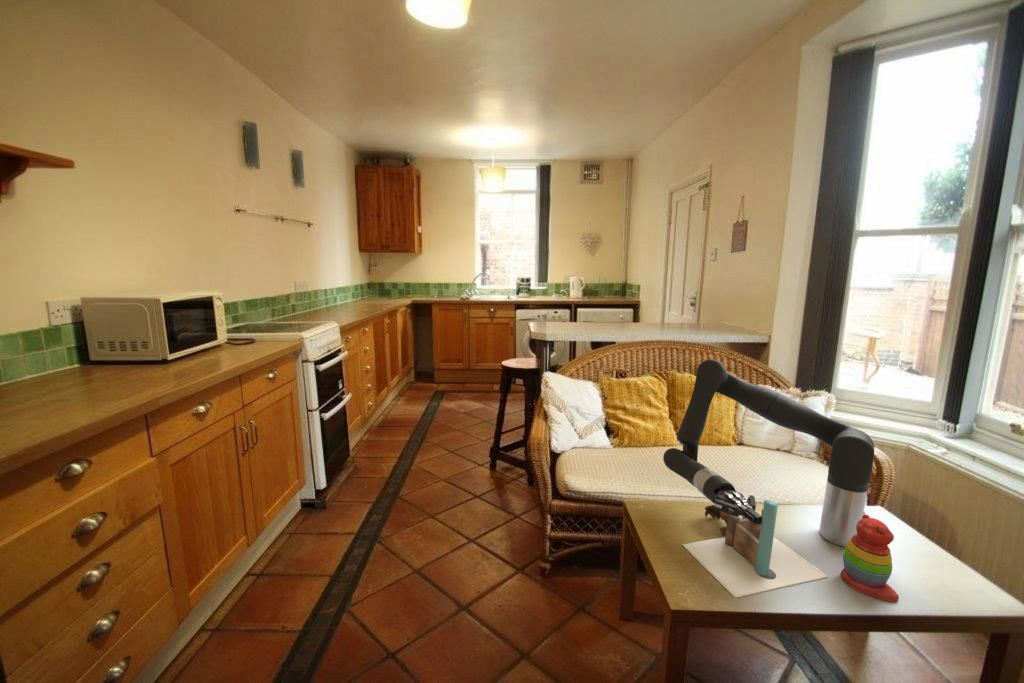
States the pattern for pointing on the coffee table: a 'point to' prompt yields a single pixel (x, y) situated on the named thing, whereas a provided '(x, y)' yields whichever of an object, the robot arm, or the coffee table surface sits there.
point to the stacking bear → (869, 560)
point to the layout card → (752, 567)
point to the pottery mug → (718, 514)
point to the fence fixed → (744, 522)
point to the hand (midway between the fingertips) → (759, 521)
